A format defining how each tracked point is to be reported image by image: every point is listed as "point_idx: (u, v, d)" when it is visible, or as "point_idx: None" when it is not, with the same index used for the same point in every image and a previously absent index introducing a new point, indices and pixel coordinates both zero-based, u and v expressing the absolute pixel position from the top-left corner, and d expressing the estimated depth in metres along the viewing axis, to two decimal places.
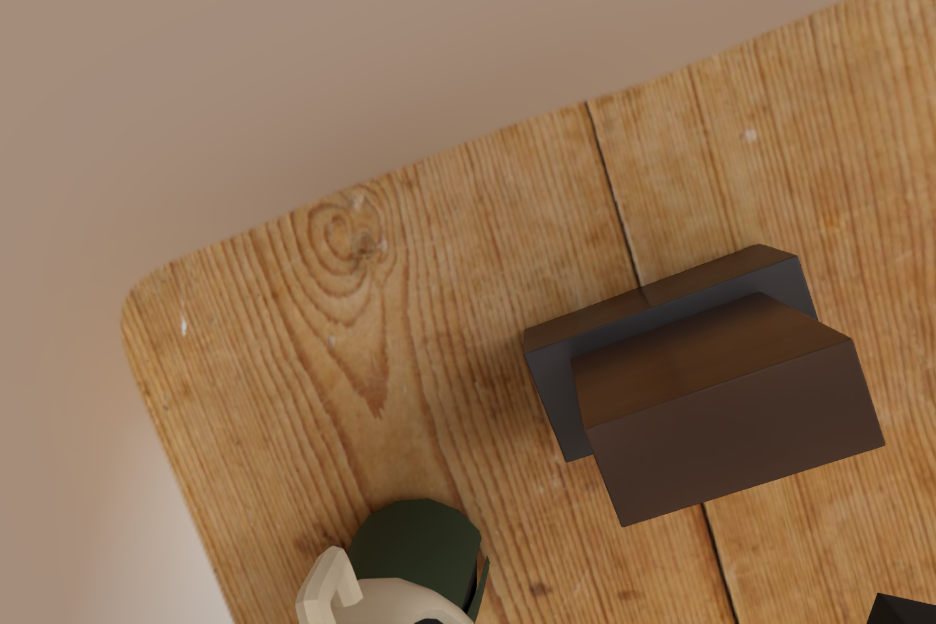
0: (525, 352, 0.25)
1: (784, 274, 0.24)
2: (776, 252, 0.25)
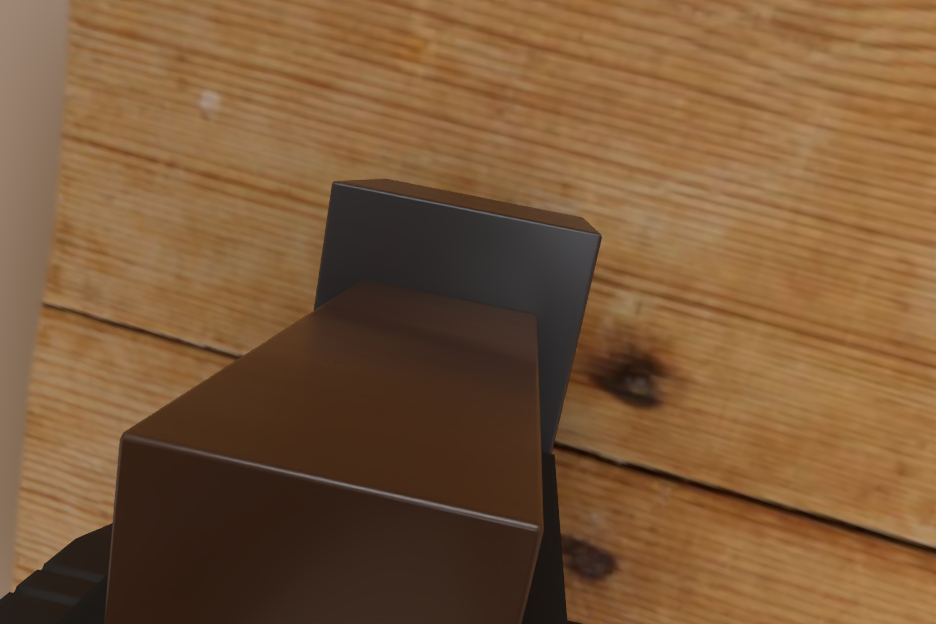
0: None
1: (354, 222, 0.11)
2: None
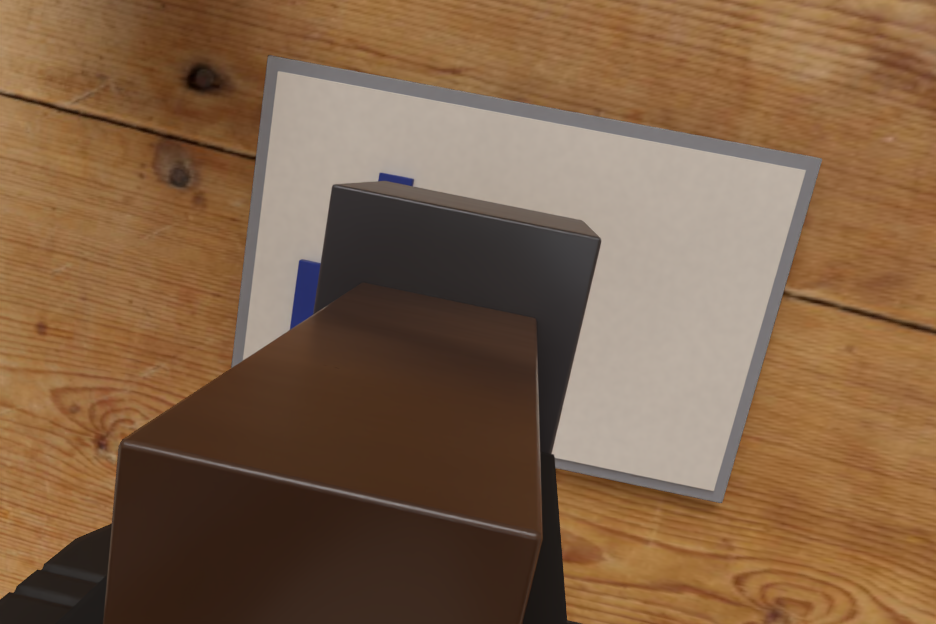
0: None
1: (354, 225, 0.11)
2: None
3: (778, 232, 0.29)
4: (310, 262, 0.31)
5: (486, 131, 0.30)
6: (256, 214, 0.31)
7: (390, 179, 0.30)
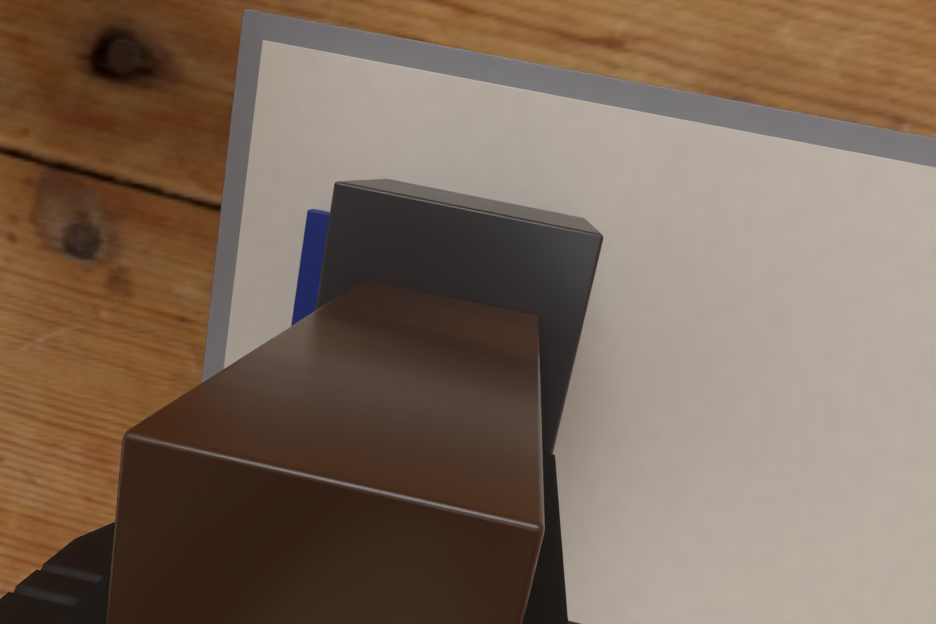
0: None
1: (357, 222, 0.11)
2: None
3: None
4: None
5: (684, 163, 0.15)
6: (222, 317, 0.16)
7: None
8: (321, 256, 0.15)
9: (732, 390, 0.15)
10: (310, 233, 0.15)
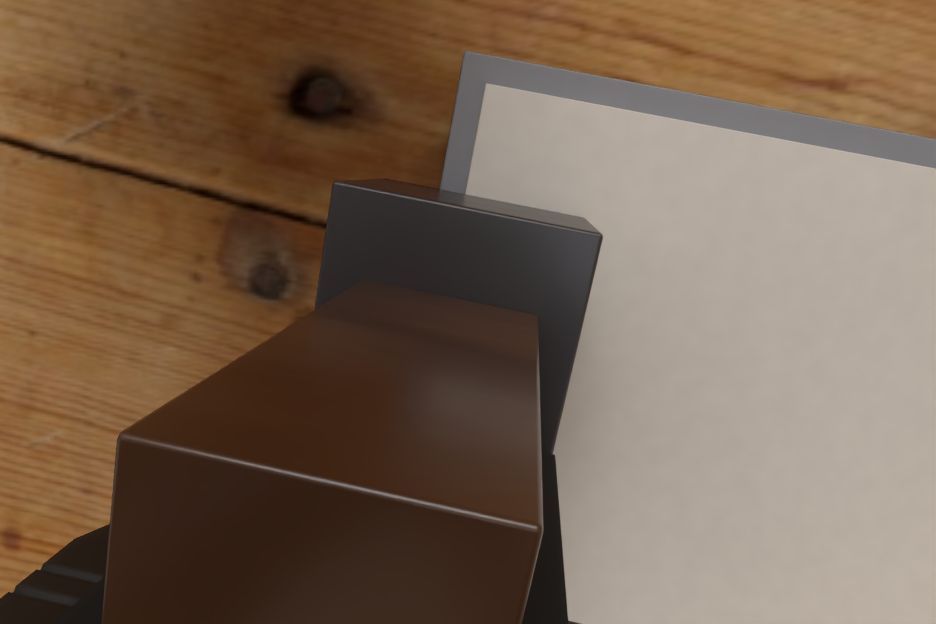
0: None
1: (355, 222, 0.11)
2: None
3: None
4: None
5: (921, 210, 0.14)
6: None
7: None
8: None
9: None
10: None
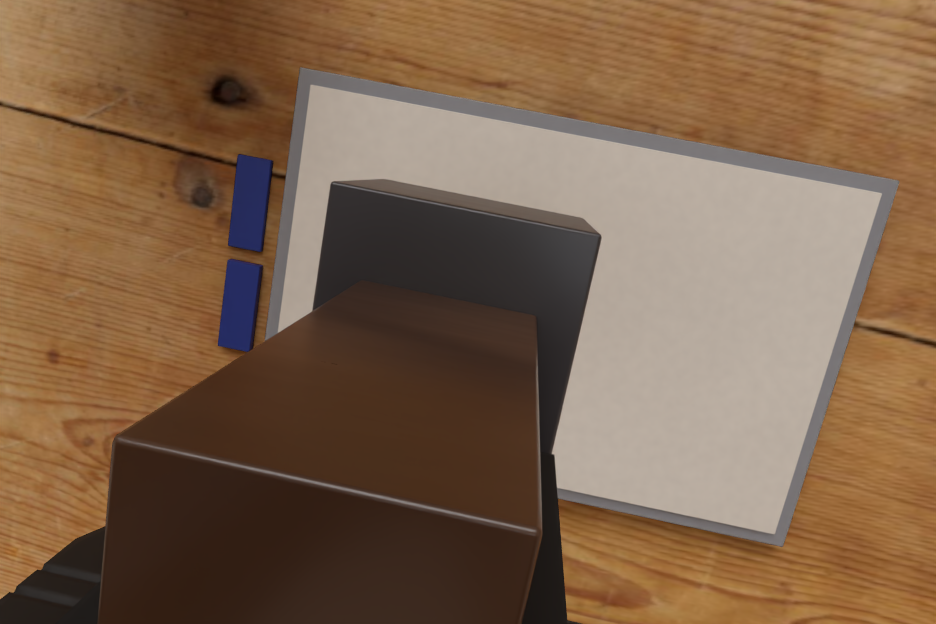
0: None
1: (353, 223, 0.11)
2: None
3: (850, 260, 0.27)
4: (251, 263, 0.31)
5: (535, 150, 0.27)
6: (285, 237, 0.29)
7: None
8: None
9: None
10: (269, 171, 0.30)
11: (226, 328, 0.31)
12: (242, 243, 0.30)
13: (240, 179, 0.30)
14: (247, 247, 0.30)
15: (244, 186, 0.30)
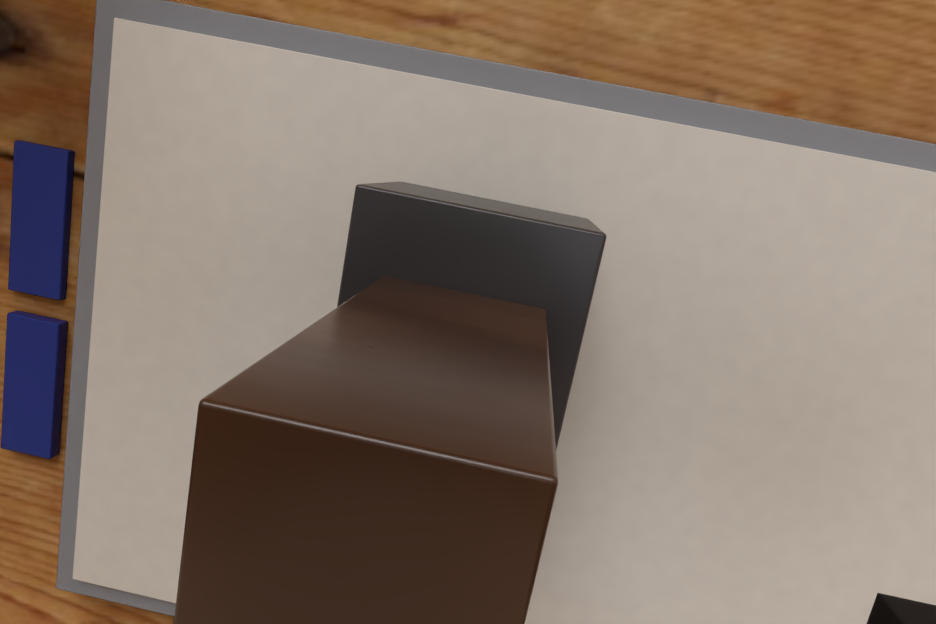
0: None
1: (376, 223, 0.12)
2: None
3: None
4: (49, 318, 0.19)
5: (504, 131, 0.16)
6: (89, 279, 0.17)
7: (59, 155, 0.18)
8: None
9: None
10: (71, 169, 0.18)
11: (12, 421, 0.19)
12: (30, 286, 0.19)
13: (21, 182, 0.18)
14: (38, 293, 0.19)
15: (28, 193, 0.18)
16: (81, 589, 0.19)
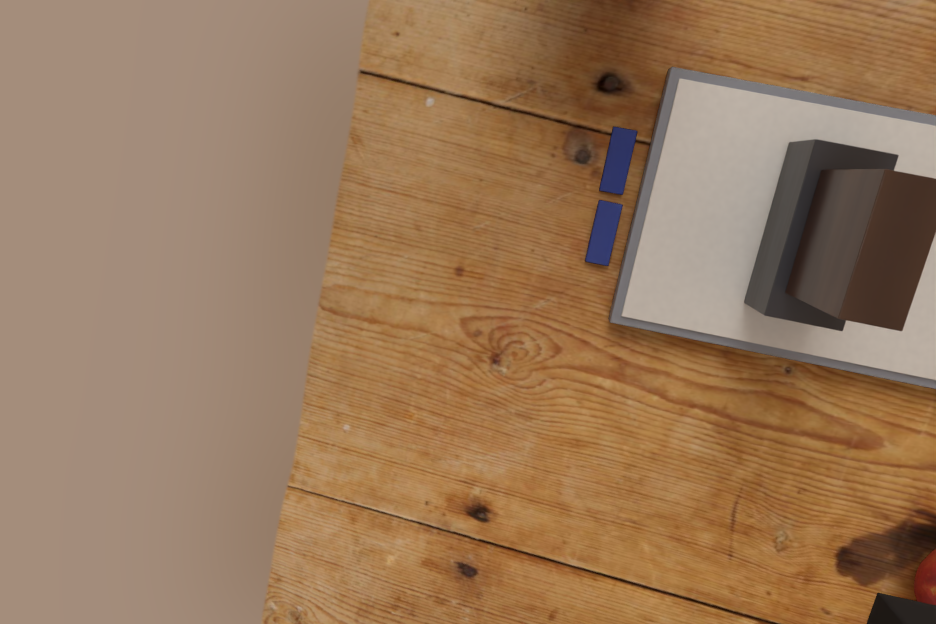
0: (763, 313, 0.40)
1: (821, 151, 0.37)
2: (804, 144, 0.39)
3: None
4: (613, 203, 0.44)
5: (833, 122, 0.41)
6: (649, 183, 0.43)
7: (627, 133, 0.43)
8: None
9: None
10: (632, 139, 0.43)
11: (593, 249, 0.44)
12: (610, 188, 0.44)
13: (613, 144, 0.43)
14: (613, 191, 0.44)
15: (616, 148, 0.43)
16: (621, 322, 0.45)
